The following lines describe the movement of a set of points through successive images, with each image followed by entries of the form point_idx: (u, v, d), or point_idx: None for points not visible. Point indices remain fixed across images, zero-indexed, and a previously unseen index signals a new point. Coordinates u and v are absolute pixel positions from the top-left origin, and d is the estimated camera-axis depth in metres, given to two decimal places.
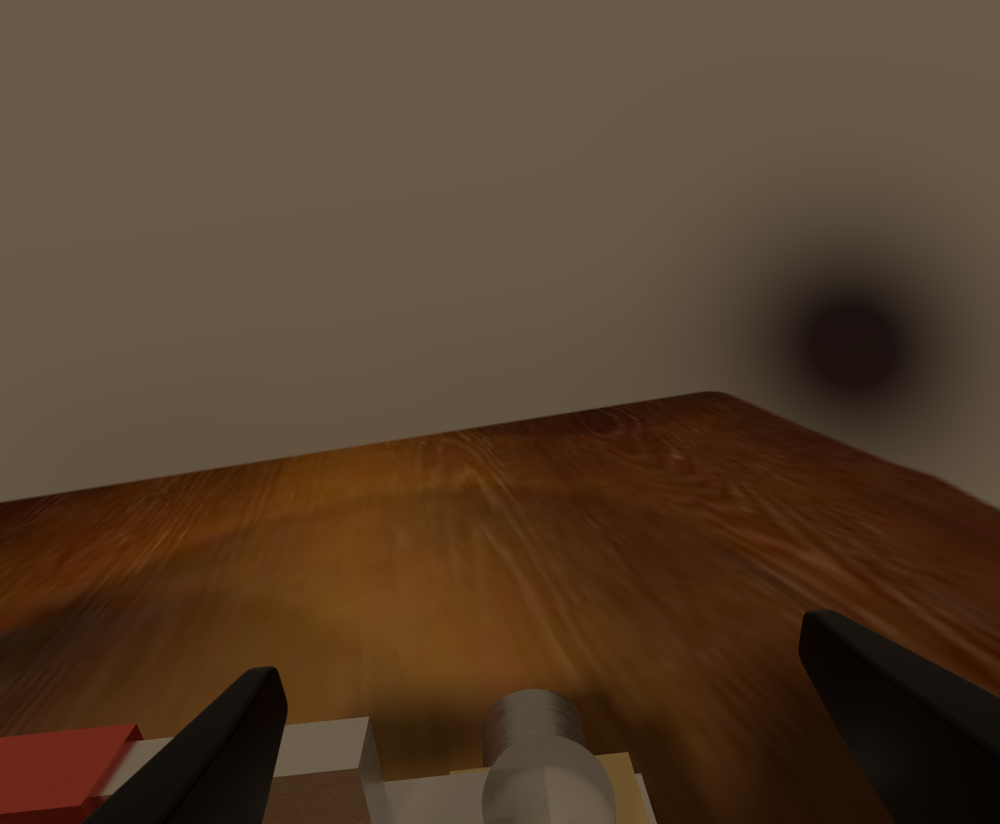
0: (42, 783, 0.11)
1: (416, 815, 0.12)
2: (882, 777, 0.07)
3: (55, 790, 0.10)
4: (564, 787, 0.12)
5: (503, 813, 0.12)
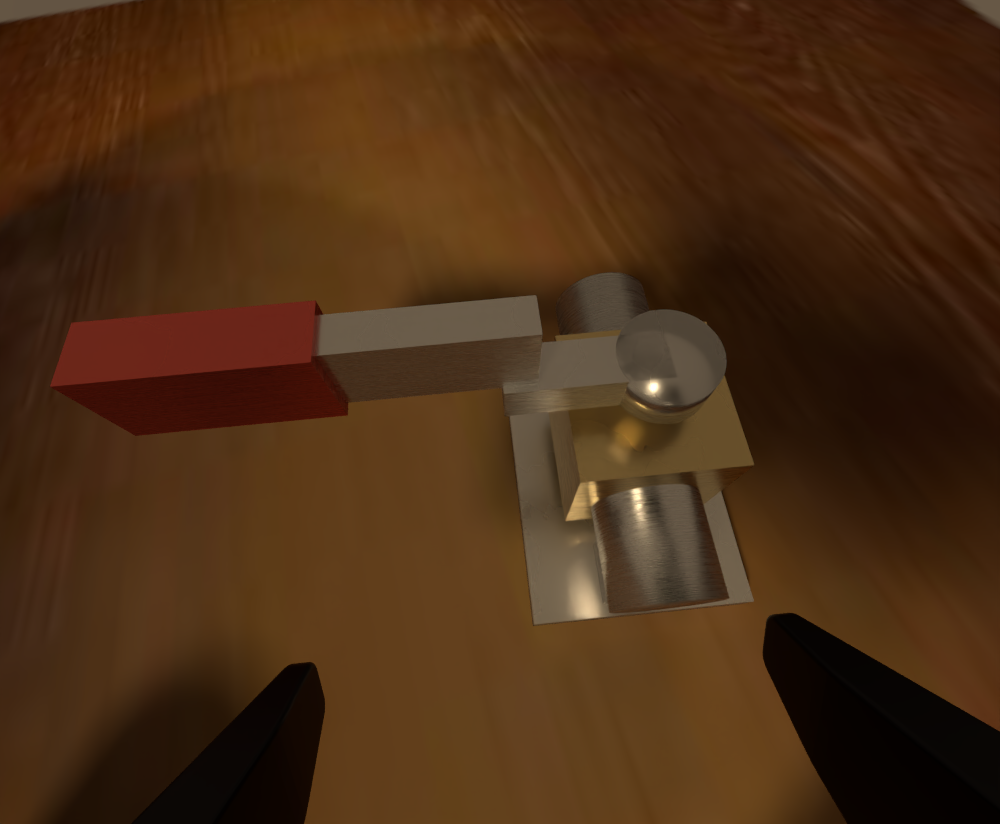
0: (262, 347, 0.12)
1: (564, 365, 0.15)
2: (838, 782, 0.07)
3: (278, 352, 0.12)
4: (683, 346, 0.15)
5: (635, 364, 0.15)
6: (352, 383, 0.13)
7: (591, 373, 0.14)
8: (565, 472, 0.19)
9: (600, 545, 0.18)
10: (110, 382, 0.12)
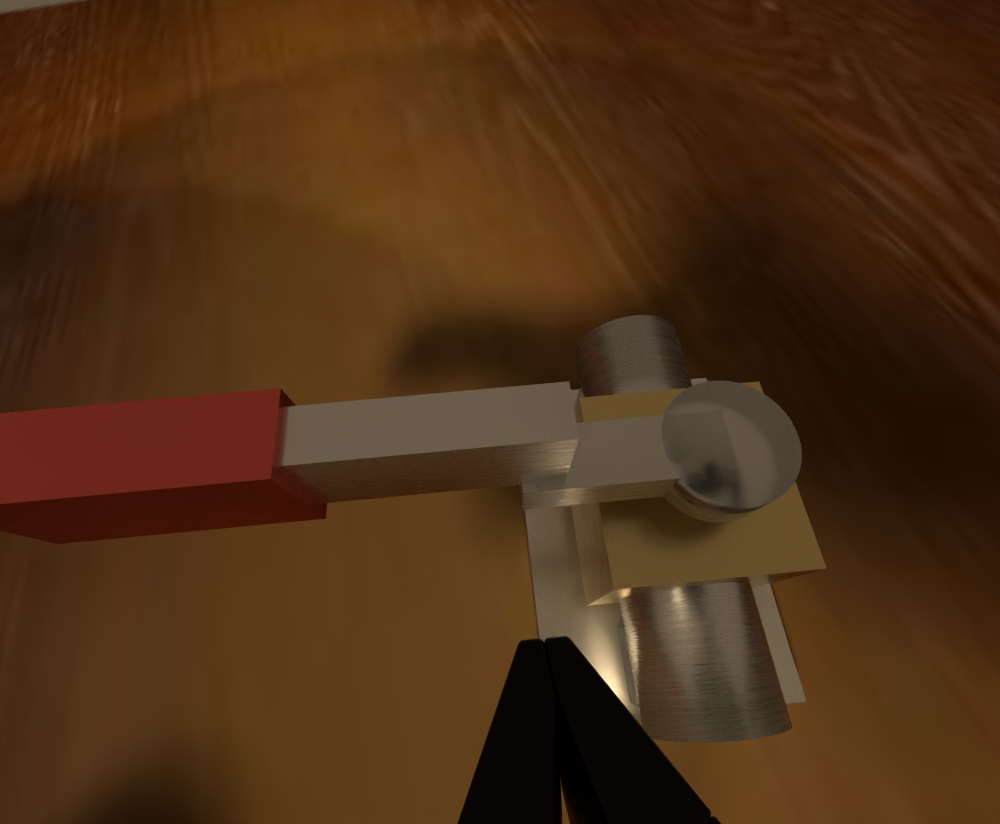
0: (207, 455, 0.09)
1: (597, 455, 0.12)
2: (571, 812, 0.07)
3: (228, 463, 0.09)
4: (746, 430, 0.12)
5: (687, 453, 0.12)
6: (330, 487, 0.10)
7: (632, 465, 0.12)
8: (589, 556, 0.16)
9: (632, 650, 0.15)
10: (2, 505, 0.09)
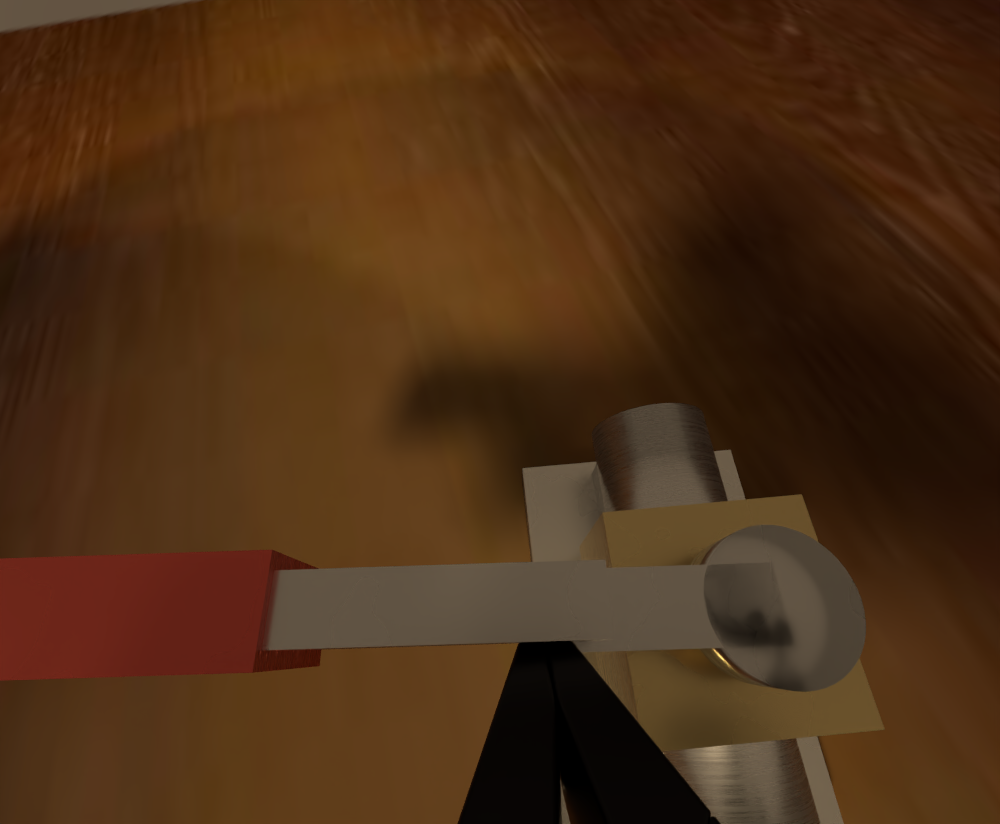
0: (182, 634, 0.08)
1: (629, 611, 0.10)
2: (571, 812, 0.07)
3: (206, 647, 0.08)
4: (801, 592, 0.10)
5: (732, 616, 0.10)
6: None
7: (668, 627, 0.10)
8: (611, 679, 0.15)
9: None
10: None
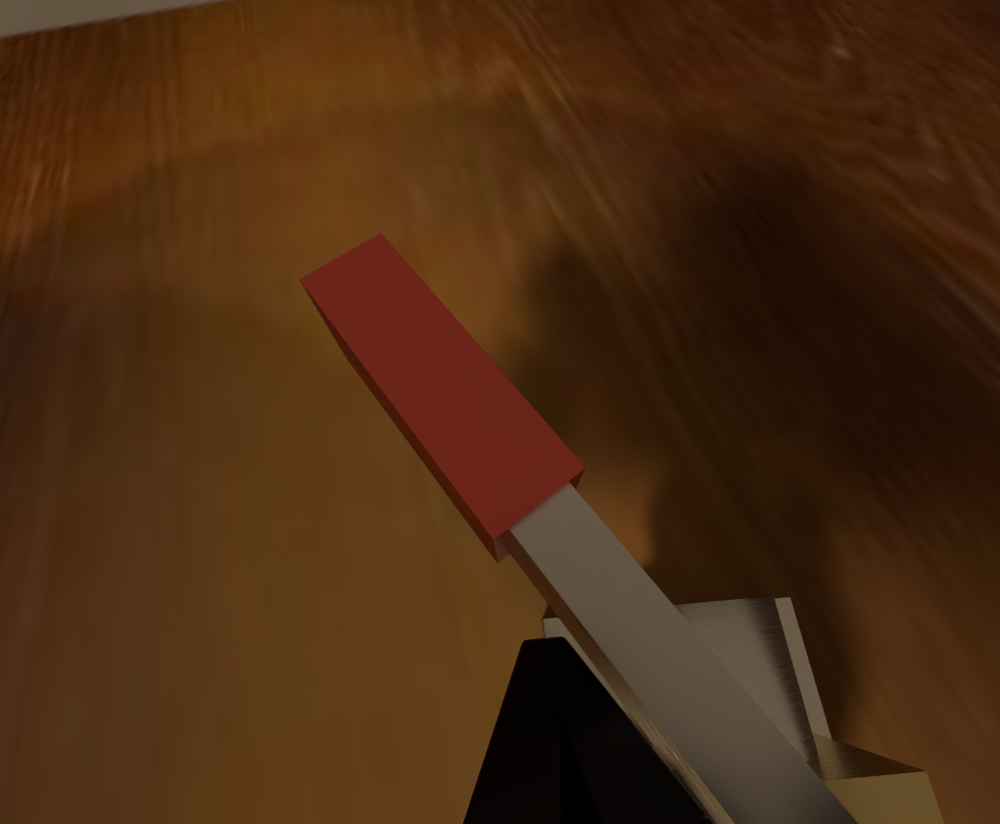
0: (476, 456, 0.08)
1: None
2: (566, 812, 0.07)
3: (482, 484, 0.08)
4: None
5: None
6: (526, 566, 0.09)
7: None
8: None
9: None
10: (336, 329, 0.09)
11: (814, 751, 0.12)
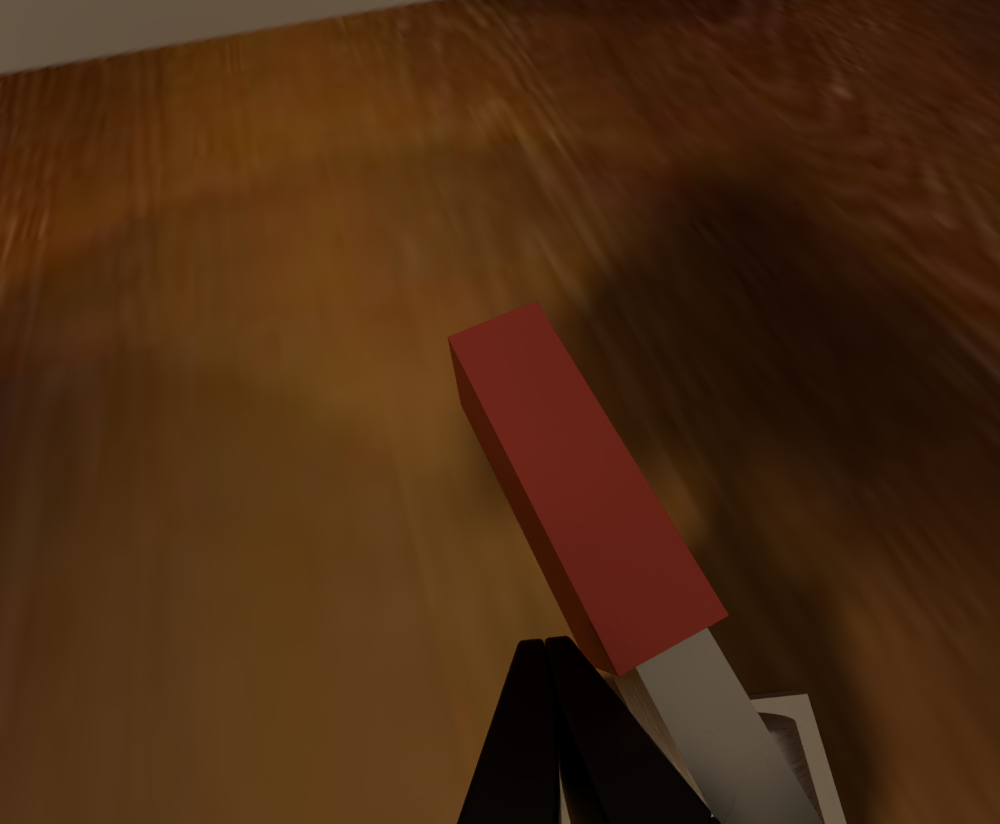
0: (609, 575, 0.07)
1: None
2: (571, 811, 0.07)
3: (613, 608, 0.07)
4: None
5: None
6: (629, 690, 0.08)
7: None
8: None
9: None
10: (478, 398, 0.09)
11: None
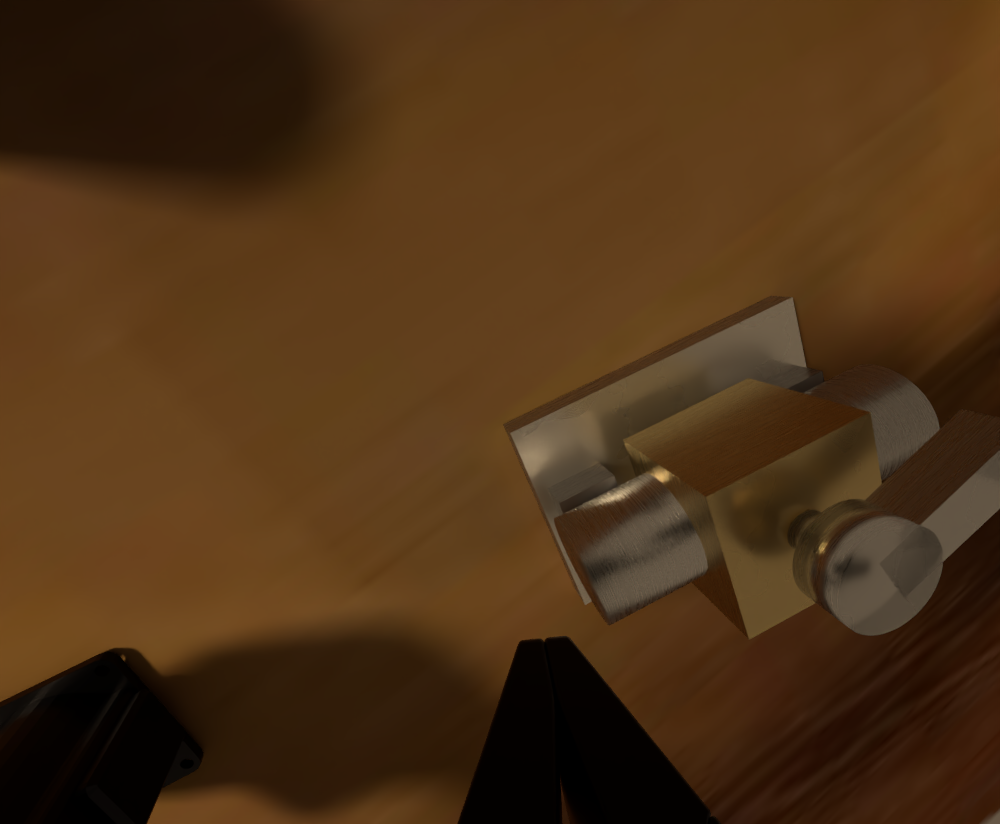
0: None
1: (982, 493, 0.13)
2: (571, 811, 0.07)
3: None
4: (882, 597, 0.13)
5: (919, 546, 0.13)
6: None
7: (956, 506, 0.13)
8: (687, 443, 0.17)
9: (621, 500, 0.17)
10: None
11: None
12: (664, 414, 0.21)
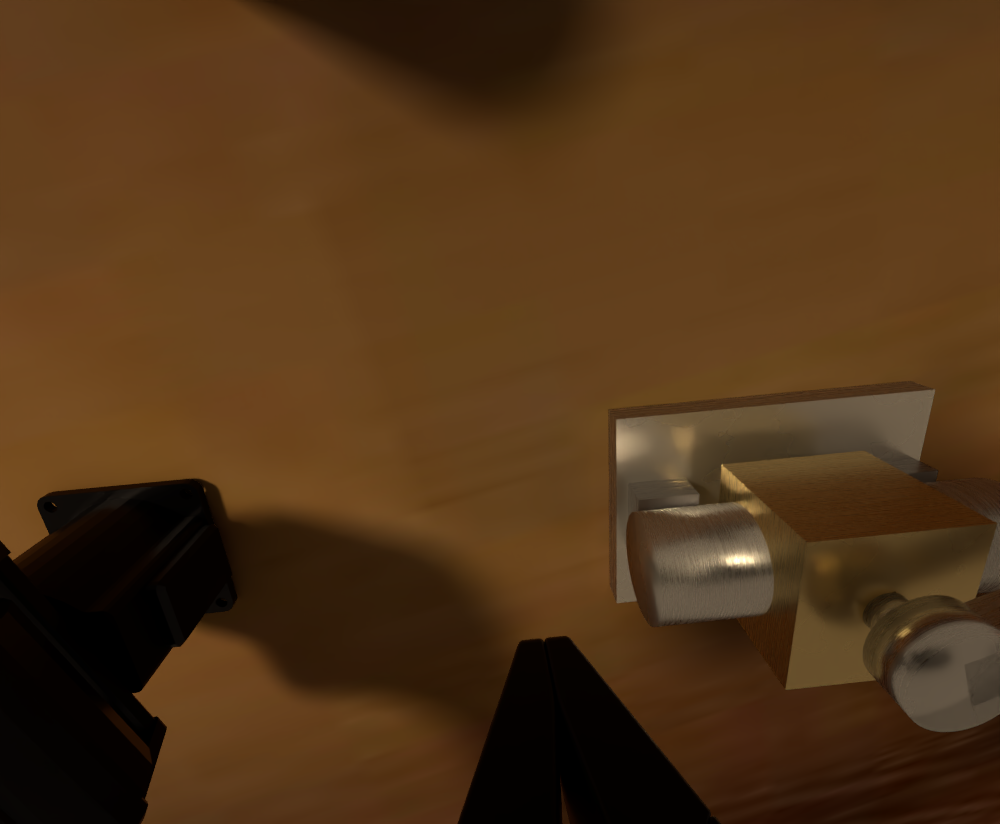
0: None
1: None
2: (570, 811, 0.07)
3: None
4: (951, 697, 0.13)
5: None
6: None
7: None
8: (791, 488, 0.17)
9: (708, 518, 0.17)
10: None
11: None
12: (764, 455, 0.21)
